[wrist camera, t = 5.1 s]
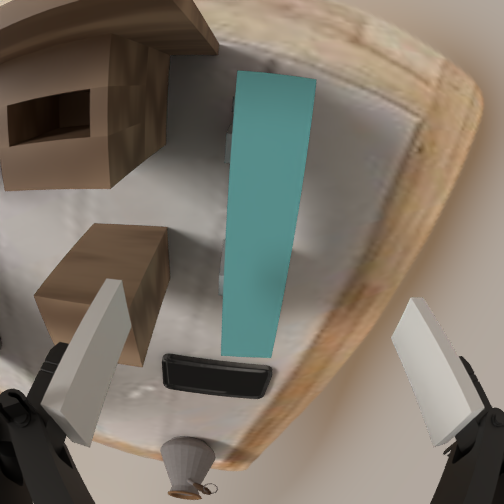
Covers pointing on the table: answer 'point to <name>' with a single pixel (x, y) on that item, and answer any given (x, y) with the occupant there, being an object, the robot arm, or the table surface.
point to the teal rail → (262, 205)
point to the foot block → (109, 267)
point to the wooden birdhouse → (88, 86)
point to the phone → (215, 377)
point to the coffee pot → (187, 466)
